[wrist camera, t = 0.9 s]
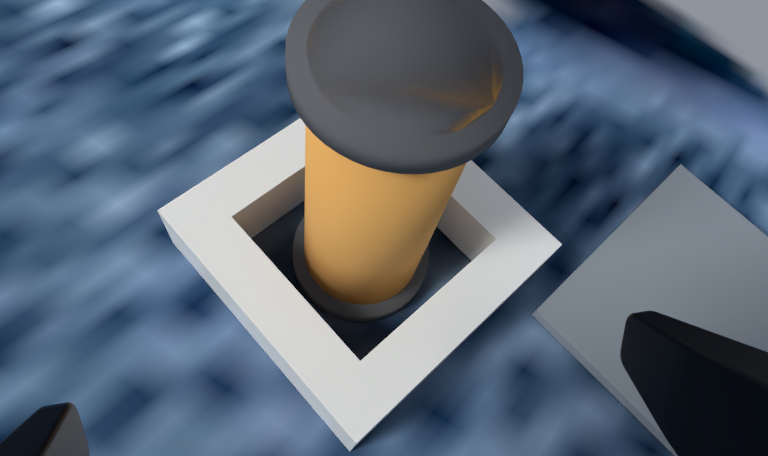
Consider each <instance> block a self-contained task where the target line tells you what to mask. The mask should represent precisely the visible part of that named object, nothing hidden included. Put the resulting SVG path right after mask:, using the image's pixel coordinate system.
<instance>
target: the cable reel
mask: <svg viewBox="0 0 768 456" xmlns="http://www.w3.org/2000/svg"><path fill="white" fill-rule="evenodd" d="M285 59H286V79H287V87H288V91H289V94H290V98H291V101H292V103H293V105H294V107H295V109H296V111H297V113H298V115H299V116H300V118H301V119H302V121H303V122H304V124H305V216H304V217H303V219H302V220H301V222H300V224H299V226H298V228H297V230H296V233H295V236H294V241H293V267H294V272H295V276H296V278H297V281H298V283H299V285H300V287H301V289H302V290H303V292H304V293H305V295H306V296H307V297H308V298H309V299H310V300H311V301H312V302H313V303H314V304H315V305H316V306H317V307H319V308H320V309H321V310H323V311H324V312H326V313H328V314H330V315H332V316H335V317H337V318H340V319H344V320H347V321H355V322H368V321H376V320H379V319H383V318H386V317H388V316H391V315H393V314H395V313H396V312H398V311H400V310H401V309H402V308H404V307H405V306H406V305H407V304H408V303H409V302H410V301H411V300H412V299H413V298H414V296H415V295H416V294H417V292H418V290H419V288H420V286H421V284H422V283H423V281H424V279H425V276H426V273H427V269H428V265H429V247H428V243H429V241H430V239H431V237H432V235H433V233H434V231H435V229H436V226H437V224H438V222H439V220H440V218H441V216H442V214H443V212H444V210H445V207H446V205H447V203H448V201H449V199H450V197H451V195H452V193H453V191H454V189H455V186H456V184H457V182H458V180H459V178H460V176H461V174H462V172H463V170H464V167H465V165H466V163H467V162H469V161H471V160H473V159H474V158H476V157H477V156H479V155H480V154H482V153H483V152H485V151H486V150H487V149H488V148H489V147H490V146H491V145H492V144H493V143H494V142H495V141H496V140H497V138H498V137H499V136H500V134H501V133H502V131H503V129H504V128H505V126H506V124H507V122H508V120H509V118H510V116H511V115H512V113H513V111H514V109H515V107H516V105H517V103H518V100H519V97H520V94H521V91H522V85H523V64H522V59H521V55H520V52H519V49H518V46H517V43H516V41H515V39H514V37H513V35H512V33H511V32H510V30H509V29H508V27H507V26H506V24H505V23H504V22H503V20H502V19H501V18H500V17H499V16H498V15H497V14H496V12H495V11H493V10H492V9H491V8H490V7H489V6H488V5H487V4H486V3H485V2H483V1H482V0H306V1H305V2H304V3H303V5H302V6H301V7H300V8H299V10H298V11H297V13H296V14H295V16H294V17H293V20H292V22H291V24H290V27H289V29H288V34H287V38H286V49H285Z"/></svg>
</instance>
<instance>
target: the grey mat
mask: <svg viewBox="0 0 768 456" xmlns="http://www.w3.org/2000/svg"><path fill="white" fill-rule="evenodd" d="M643 311H656V312H658V313H661V314H664V315H667V316H669V317H672V318H675V319H678V320H680V321H683V322H686V323H689V324H691V325H694V326H697V327H700V328H703V329H705V330H708V331H711V332H714V333H716V334H719V335H722V336H725V337H727V338H730V339H733V340H736V341H738V342H741V343H744V344H747V345H750V346H752V347H755V348H758V349H761V350H763V351H766V352H768V236H766V235H765V234H764V233H763V232H762V231H760V230H759V229H758V228H757V227H756V226H754V225H753V224H752V223H751V222H750V221H748V220H747V219H746V218H745V217H744V216H742V215H741V214H740V213H739V212H738V211H736V210H735V209H734V208H733V207H732V206H730V205H729V204H728V203H727V202H726V201H724V200H723V199H722V198H721V197H720V196H718V195H717V194H716V193H715V192H713V191H712V190H711V189H710V188H709V187H707V186H706V185H705V184H704V183H703V182H701V181H700V180H699V179H698V178H697V177H695V176H694V175H693V174H692V173H691V172H689V171H688V170H687V169H686V168H685V167H683V166H682V165H681V164H680V165H679V166H678V167H677V168H676V169H675V170H674V171H673V172H672V173H671V174H670V175H669V176H668V177H667V178H666V179H665V180H664V181H663V182H662V183H661V184H660V185H659V186H658V187H657V188H656V189H655V190H654V191H653V192H652V193H651V194H650V195H649V196H648V197H647V198H646V199H645V200H644V201H643V202H642V203H641V204H640V205H639V206H638V207H637V208H636V209H635V210H634V211H633V212H632V213H631V214H630V215H629V216H628V217H627V218H626V219H625V220H624V221H623V222H622V223H621V224H620V225H619V226H618V227H617V228H616V229H615V230H614V231H613V232H612V233H611V234H610V235H609V236H608V237H607V238H606V239H605V240H604V241H603V242H602V243H601V244H600V245H599V247H598V248H597V249H596V250H595V251H594V252H593V253H592V254H591V255H590V256H589V257H588V258H587V259H586V260H585V261H584V262H583V263H582V264H581V265H580V266H579V267H578V268H577V269H576V270H575V271H574V272H573V273H572V274H571V275H570V276H569V277H568V278H567V279H566V280H565V281H564V282H563V283H562V284H561V285H560V286H559V287H558V288H557V289H556V290H555V291H554V292H553V293H552V294H551V295H550V296H549V297H548V298H547V299H546V300H545V301H544V302H543V303H542V304H541V305H540V306H539V307H538V308H537V309H536V310H535V311H534V312H533V313H532V314H531V315H532V316H533V317H534V318H535V319H536V320H537V321H538V322H539V323H540V324H541V325H542V326H543V327H544V328H545V329H546V330H547V331H549V332H550V333H551V334H552V335H553V336H554V337H555V338H556V339H557V340H558V341H559V342H560V343H561V344H562V345H563V346H564V347H565V348H566V349H567V350H568V351H569V352H570V353H571V354H572V355H573V356H574V357H575V358H576V359H577V360H578V361H579V362H580V363H581V364H582V365H583V366H584V367H585V368H586V369H587V370H588V371H589V372H590V373H591V374H592V375H593V376H594V377H595V378H596V379H597V380H598V381H599V382H600V383H601V384H602V385H603V386H604V387H605V388H606V389H607V390H608V391H609V392H610V393H611V394H612V395H613V396H614V397H615V398H617V399H618V400H619V401H620V402H621V403H622V404H623V405H624V406H625V407H626V408H627V409H628V410H629V411H630V412H631V413H632V414H633V415H634V416H635V417H636V418H637V419H638V420H639V421H640V422H641V423H642V424H643V425H644V426H645V427H646V428H647V429H648V430H649V431H650V432H651V433H652V434H653V435H654V436H655V437H656V438H657V439H658V440H659V441H660V442H661V443H662V444H663V445H664V446H665V447H666V448H667V449H668V450H669V451H670V452H671V453H672V454H673V455H674V456H677V454H676V453H675V451H674V450H673V448H672V447H671V446H670V444H669V443H668V441H667V440H666V438H665V436H664V435H663V433H662V432H661V430H660V428H659V427H658V425H657V423H656V422H655V420H654V418H653V416H652V415H651V413H650V411H649V410H648V408H647V406H646V404H645V403H644V401H643V399H642V398H641V396H640V394H639V393H638V391H637V389H636V387H635V386H634V384H633V382H632V381H631V379H630V377H629V375H628V374H627V372H626V370H625V369H624V367H623V365H622V362H621V358H620V349H621V344H622V338H623V333H624V328H625V322H626V319H627V317H628V316H629V315H630V314H632V313H637V312H643Z"/></svg>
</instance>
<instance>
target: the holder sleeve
mask: <svg viewBox="0 0 768 456" xmlns="http://www.w3.org/2000/svg"><path fill="white" fill-rule="evenodd" d="M304 200H305V124H304V122H303V121H302V119H301V118H300V119H298V120H297V121H295V122H294V123H292V124H291V125H289V126H288V127H286V128H285V129H283V130H281V131H280V132H278V133H277V134H275V135H274V136H272V137H271V138H269V139H267V140H266V141H264V142H263V143H261V144H260V145H258V146H257V147H255V148H254V149H252V150H250V151H249V152H247V153H246V154H244V155H243V156H241V157H240V158H238V159H236V160H235V161H233V162H232V163H230V164H229V165H227V166H226V167H224V168H223V169H221V170H219V171H218V172H216V173H215V174H213V175H212V176H210V177H209V178H207V179H205V180H204V181H202V182H201V183H199V184H198V185H196V186H195V187H193V188H191V189H190V190H188V191H187V192H185V193H184V194H182V195H181V196H179V197H178V198H176V199H174V200H173V201H171V202H170V203H168V204H167V205H165V206H164V207H162V208H160V209H159V210H158V213H159V215H160V217H161V219H162V221H163V223H164V225H165V227H166V229H167V231H168V233H169V235H170V237H171V240H172V242H173V243H174V244H175V245H176V247H177V248H178V249H179V250H180V251H181V253H182V254H183V255H184V256H185V257H186V258H187V260H188V261H189V262H190V263H191V264H192V266H193V267H194V268H195V269H196V270H197V271H198V273H199V274H200V275H201V276H202V277H203V279H204V280H205V281H206V282H207V283H208V284H209V286H210V287H211V288H212V289H213V290H214V292H215V293H216V294H217V295H218V296H219V298H220V299H221V300H222V301H223V302H224V303H225V305H226V306H227V307H228V308H229V309H230V311H231V312H232V313H233V314H234V315H235V316H236V318H237V319H238V320H239V321H240V322H241V324H242V325H243V326H244V327H245V328H246V329H247V331H248V332H249V333H250V334H251V335H252V337H253V338H254V339H255V340H256V341H257V343H258V344H259V345H260V346H261V347H262V348H263V350H264V351H265V352H266V353H267V354H268V356H269V357H270V358H271V359H272V360H273V361H274V363H275V364H276V365H277V366H278V367H279V369H280V370H281V371H282V372H283V373H284V374H285V376H286V377H287V378H288V379H289V380H290V382H291V383H292V384H293V385H294V386H295V388H296V389H297V390H298V391H299V392H300V393H301V395H302V396H303V397H304V398H305V399H306V401H307V402H308V403H309V404H310V405H311V406H312V408H313V409H314V410H315V411H316V412H317V414H318V415H319V416H320V417H321V418H322V419H323V421H324V422H325V423H326V424H327V425H328V427H329V428H330V429H331V430H332V431H333V432H334V434H335V435H336V436H337V437H338V438H339V440H340V441H341V442H342V443H343V444H344V446H345V447H346V448H347V449H348V450H349V451H351V450H352V449H353V448H354V447H355V446H356V445H357V444H358V443H359V442H360V441H361V440H362V439H363V438H364V437H365V436H366V435H368V434H369V433H370V432H371V431H372V430H373V429H374V428H375V427H376V426H377V425H378V424H379V423H380V422H381V421H382V420H383V419H384V418H385V417H386V416H387V415H388V414H389V413H390V412H391V411H392V410H393V409H394V408H395V407H396V406H397V405H398V404H400V403H401V402H402V401H403V400H404V399H405V398H406V397H407V396H408V395H409V394H410V393H411V392H412V391H413V390H414V389H415V388H416V387H417V386H418V385H419V384H420V383H421V382H422V381H423V380H424V379H425V378H426V377H427V376H428V375H429V374H430V373H432V372H433V371H434V370H435V369H436V368H437V367H438V366H439V365H440V364H441V363H442V362H443V361H444V360H445V359H446V358H447V357H448V356H449V355H450V354H451V353H452V352H453V351H454V350H455V349H456V348H457V347H458V346H459V345H460V344H461V343H463V342H464V341H465V340H466V339H467V338H468V337H469V336H470V335H471V334H472V333H473V332H474V331H475V330H476V329H477V328H478V327H479V326H480V325H481V324H482V323H483V322H484V321H485V320H486V319H487V318H488V317H489V316H490V315H491V314H492V313H493V312H495V311H496V310H497V309H498V308H499V307H500V306H501V305H502V304H503V303H504V302H505V301H506V300H507V299H508V298H509V297H510V296H511V295H512V294H513V293H514V292H515V291H516V290H517V289H518V288H519V287H520V286H521V285H522V284H523V283H524V282H526V281H527V280H528V279H529V278H530V277H531V276H532V275H533V274H534V273H535V272H536V271H537V270H538V269H539V268H540V267H541V266H542V265H543V264H544V263H545V262H546V261H547V260H548V259H549V258H550V257H551V256H552V254H553V253H554V252H555V251H556V250H557V249H558V248H559V247H560V246H561V245H562V244H561V243H560V242H559V241H558V240H557V239H556V238H555V237H554V236H552V235H551V234H550V233H549V232H548V231H547V230H546V229H545V228H544V227H543V226H542V225H541V224H540V223H539V222H537V221H536V220H535V219H534V218H533V217H532V216H531V215H530V214H529V213H528V212H527V211H526V210H525V209H523V208H522V207H521V206H520V205H519V204H518V203H517V202H516V201H515V200H514V199H513V198H512V197H511V196H509V195H508V194H507V193H506V192H505V191H504V190H503V189H502V188H501V187H500V186H499V185H498V184H497V183H495V182H494V181H493V180H492V179H491V178H490V177H489V176H488V175H487V174H486V173H485V172H484V171H483V170H481V169H480V168H479V167H478V166H477V165H476V164H475V163H474V162H473V161H472V160H471V161H469V162H467V163H466V165H465V167H464V170H463V172H462V174H461V176H460V178H459V180H458V182H457V184H456V186H455V189H454V191H453V193H452V195H451V197H450V199H449V201H448V203H447V205H446V207H445V210H444V212H443V214H442V216H441V218H440V220H439V222H438V224H437V227H438V228H439V229H440V230H441V231H442V232H443V233H444V234H445V235H446V236H447V237H448V238H449V239H450V240H451V241H452V242H453V243H454V244H455V245H456V246H457V247H458V248H459V249H460V250H461V251H462V252H463V253H464V254H465V255H466V256H467V257H468V258H469V259H470V260H471V262H470V263H469V264H468V265H467V266H466V267H465V268H463V269H462V270H461V271H460V272H459V273H458V274H457V275H456V276H455V277H453V278H452V279H451V280H450V281H449V282H448V283H447V284H446V285H445V286H443V287H442V288H441V289H440V290H439V291H438V292H437V293H436V294H434V295H433V296H432V297H431V298H430V299H429V300H428V301H427V302H426V303H424V304H423V305H422V306H421V307H420V308H419V309H418V310H417V311H415V312H414V313H413V314H412V315H411V316H410V317H409V318H408V319H407V320H405V321H404V322H403V323H402V324H401V325H400V326H399V327H398V328H397V329H395V330H394V331H393V332H392V333H391V334H390V335H389V336H388V337H386V338H385V339H384V340H383V341H382V342H381V343H380V344H379V345H378V346H376V347H375V348H374V349H373V350H372V351H371V352H370V353H369V354H368V355H366V356H365V357H364V358H363V359H362V360H361V361H360V360H359V359H358V358H357V357H356V356H355V354H354V353H353V352H352V351H351V350H350V349H349V348H348V347H347V346H346V344H345V343H344V342H343V341H342V340H341V339H340V338H339V337H338V335H337V334H336V333H335V332H334V331H333V330H332V329H331V328H330V327H329V325H328V324H327V323H326V322H325V321H324V320H323V319H322V318H321V316H320V315H319V314H318V313H317V312H316V311H315V310H314V309H313V307H312V306H311V305H310V304H309V303H308V302H307V301H306V300H305V299H304V297H303V296H302V295H301V294H300V293H299V292H298V291H297V290H296V288H295V287H294V286H293V285H292V284H291V283H290V282H289V281H288V279H287V278H286V277H285V276H284V275H283V274H282V273H281V272H280V271H279V269H278V268H277V267H276V266H275V265H274V264H273V263H272V262H271V260H270V259H269V258H268V257H267V256H266V255H265V254H264V253H263V251H262V250H261V249H260V248H259V247H258V246H257V245H256V244H255V243H254V241H253V240H252V239H251V238H253V237H254V236H255V235H257V234H258V233H260V232H261V231H262V230H264V229H265V228H267V227H268V226H269V225H271V224H272V223H274V222H275V221H276V220H278V219H279V218H281V217H282V216H283V215H285V214H286V213H288V212H289V211H290V210H292V209H293V208H295V207H296V206H297V205H299V204H300V203H301V202H303V201H304Z"/></svg>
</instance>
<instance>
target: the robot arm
mask: <svg viewBox="0 0 768 456" xmlns="http://www.w3.org/2000/svg"><path fill="white" fill-rule="evenodd" d="M620 358H621V362H622V365H623V367H624V369H625V370H626V372H627V374H628V375H629V377H630V379H631V381H632V382H633V384H634V386H635V387H636V389H637V391H638V393H639V394H640V396H641V398H642V399H643V401H644V403H645V404H646V406H647V408H648V410H649V411H650V413H651V415H652V416H653V418H654V420H655V422H656V423H657V425H658V427H659V428H660V430H661V432H662V433H663V435H664V436H665V438H666V440H667V441H668V443H669V444H670V446H671V447H672V448H673V450H674V451H675V453H676V454H677V456H768V352H766V351H763V350H761V349H758V348H755V347H752V346H750V345H747V344H744V343H741V342H738V341H736V340H733V339H730V338H727V337H725V336H722V335H719V334H716V333H714V332H711V331H708V330H705V329H703V328H700V327H697V326H694V325H691V324H689V323H686V322H683V321H680V320H678V319H675V318H672V317H669V316H667V315H664V314H661V313H658V312H656V311H643V312H637V313H632V314H630V315H629V316H628V317H627V319H626V322H625V328H624V333H623V338H622V344H621V349H620ZM0 456H89V447H88V442H87V439H86V436H85V433H84V429H83V426H82V423H81V420H80V417H79V414H78V411H77V408H76V407H75V405H74V404H72V403H70V402H67V403H61V404H54V405H48V406H44V407H41V408H40V409H38V410H37V411H36V412H35V413H34V414H32V415H31V416H30V417H29V418H28V419H27V420H26V421H24V422H23V423H22V424H21V425H20V426H19V427H18V428H16V429H15V430H14V431H13V432H12V433H11V434H9V435H8V436H7V437H6V438H5V439H4V440H3V441H1V442H0Z"/></svg>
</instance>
